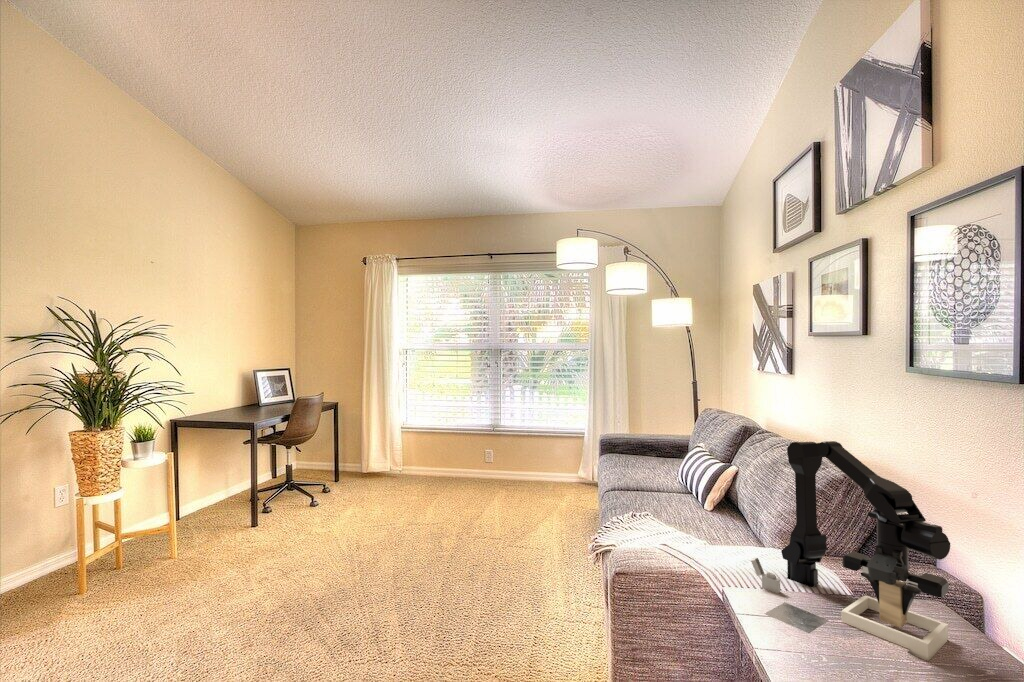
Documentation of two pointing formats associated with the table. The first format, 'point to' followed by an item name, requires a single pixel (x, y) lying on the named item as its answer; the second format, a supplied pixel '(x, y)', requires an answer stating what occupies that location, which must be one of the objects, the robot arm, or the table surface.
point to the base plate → (796, 617)
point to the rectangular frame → (917, 646)
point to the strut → (892, 603)
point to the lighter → (766, 577)
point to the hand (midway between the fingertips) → (893, 610)
